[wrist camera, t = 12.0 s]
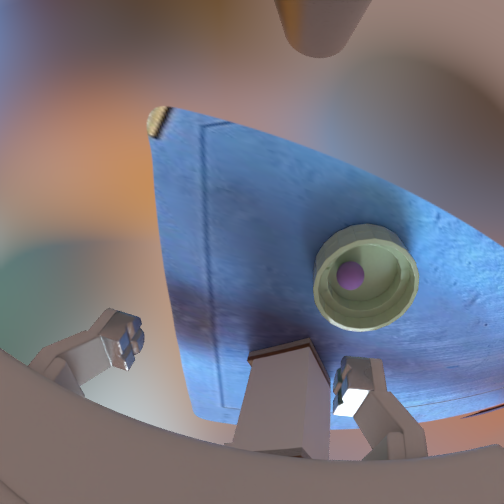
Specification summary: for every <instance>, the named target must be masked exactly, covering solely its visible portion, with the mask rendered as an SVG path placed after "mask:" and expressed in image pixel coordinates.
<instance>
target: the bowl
mask: <svg viewBox="0 0 504 504" xmlns="http://www.w3.org/2000/svg"><path fill="white" fill-rule="evenodd" d="M348 261H353V262H356V263H358V264H359V265H360V266H361V267H362V268H363V270H364V281H363V283H362V284H361V285H360V286H359V287H358V288H356V289H354V290H347V289H344V288H342V287H341V286H340V285H339V283H338V281H337V277H336V274H337V270H338V268H339V267H340V266H341V265H342V264H343V263H345V262H348ZM418 284H419V273H418V269H417V266H416V262H415V260H414V259H413V257H412V255H411V254H410V252H409V250H408V249H407V247H406V246H405V244H404V243H403V242H402V240H401V239H400V238H399V237H398V235H397V234H395V233H394V232H392V231H390V230H389V229H387V228H385V227H383V226H378V225H373V224H360V225H352V226H349V227H347V228H345V229H343V230H340V231H338V232H336V233H335V234H334V235H333V236H332V237H330V238H329V239H328V240H327V241H326V242H325V243H324V244H323V246H322V247H321V249H320V251H319V252H318V254H317V256H316V259H315V264H314V268H313V293H314V300H315V304H316V306H317V308H318V309H319V311H320V313H321V315H322V316H323V317H324V318H325V319H327V320H328V321H329V322H330V323H331V324H333V325H335V326H337V327H340V328H342V329H344V330H350V331H357V332H363V331H371V330H377V329H379V328H382V327H384V326H387V325H389V324H391V323H392V322H394V321H395V320H397V319H398V318H399V317H401V316H402V315H403V314H404V313H405V312H406V311H407V309H408V308H409V307H410V306H411V304H412V303H413V300H414V298H415V296H416V294H417V291H418Z"/></svg>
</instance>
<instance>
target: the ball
mask: <svg viewBox="0 0 504 504" xmlns="http://www.w3.org/2000/svg"><path fill="white" fill-rule="evenodd" d="M336 277H337V281H338V283H339V285H340V286H341V287H342V288H344V289H347V290H354V289H356V288H358V287H359V286H360V285H361V284H362V283H363V281H364V270H363V268H362V267H361V266H360V265H359V264H358V263H356V262H353V261H348V262H345V263H343V264H342V265H341V266H340V267H339V268H338V270H337V274H336Z"/></svg>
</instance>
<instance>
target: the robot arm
mask: <svg viewBox="0 0 504 504" xmlns="http://www.w3.org/2000/svg"><path fill="white" fill-rule="evenodd" d="M141 325H142V323H141V319H140V318H139V317H137V316H134V315H131V314H127V313H124V312H121V311H117V310H114V309H111V308H108V309H106V310H105V311H104V312H103V313H102V315H101V316H100V317H99V318H98V319H97V321H96V322H95V323H94V324H93V325H92V327H91V328H90V329H89V330H88V331H86V330H85V331H83V332H80V333H78V334H75V335H73V336H71V337H68V338H65V339H63V340H61V341H58V342H56V343H53V344H51V345H49V346H46V347H44V348H42V350H41V351H40V352H39V353H38V354H37V355H36V357H35V358H34V359H33V360H32V361H31V363H30V364H29V365H28V366H26V365H25V364H23V363H22V362H20V361H18V360H17V359H15V358H14V357H13V356H11V355H10V354H8V353H6V352H5V351H4V350H2V349H1V348H0V504H504V448H503V447H502V446H500V445H497V444H494V445H489V446H485V447H480V448H476V449H471V450H466V451H461V452H455V453H450V454H443V455H437V456H429V457H428V453H427V446H426V439H425V433H424V429H423V428H422V427H421V426H420V425H419V424H418V422H417V421H416V420H415V419H414V418H413V417H412V416H411V414H410V413H409V412H408V411H407V410H406V409H405V408H404V406H403V405H402V404H401V403H400V402H399V401H398V400H397V398H396V397H395V396H394V395H393V394H392V393H391V392H387V387H386V381H385V375H384V369H383V363H382V360H381V359H374V358H362V357H351V356H344V357H343V358H342V360H341V368H339V369H337V372H336V374H335V378H334V383H333V392H334V393H335V395H336V396H335V398H334V400H333V415H342V416H354V417H353V418H354V420H355V421H356V423H357V425H358V426H359V428H360V429H361V431H362V433H363V434H364V436H365V438H366V439H367V441H368V443H369V444H370V446H371V448H372V449H373V450H372V451H371V452H370V453H369V454H368V455H366V457H364V458H363V459H362V461H343V460H322V459H308V458H298V457H289V456H281V455H273V454H267V453H260V452H254V451H249V450H243V449H238V448H233V447H228V446H224V445H219V444H215V443H211V442H207V441H203V440H199V439H195V438H192V437H188V436H185V435H181V434H177V433H174V432H171V431H168V430H165V429H162V428H159V427H156V426H153V425H150V424H147V423H144V422H141V421H139V420H136V419H133V418H131V417H128V416H126V415H123V414H120V413H118V412H115V411H113V410H111V409H109V408H106V407H104V406H102V405H100V404H97V403H95V402H93V401H91V400H89V399H87V398H85V395H84V393H83V391H82V390H81V388H80V386H81V385H82V384H84V383H86V382H87V381H89V380H91V379H92V378H94V377H95V376H97V375H99V374H100V373H102V372H103V371H105V370H106V369H108V368H110V367H111V366H115V367H117V368H120V369H123V370H126V371H129V369H130V367H131V366H132V364H133V362H134V361H135V357H134V355H136V354H138V353H140V351H141V349H142V347H143V343H144V332H143V331H142V329H141V328H140V326H141Z"/></svg>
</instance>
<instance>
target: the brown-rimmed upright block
mask: <svg viewBox="0 0 504 504" xmlns="http://www.w3.org/2000/svg"><path fill="white" fill-rule="evenodd" d="M247 361H248V363H249V364H250V365H251V367H252V368H251V372H250V376H249V380H248V384H247V388H246V392H245V396H244V400H243V404H242V407H241V411H240V415H239V419H238V423H237V427H236V431H235V435H234V438H233V442H232V443H224V446H228V447H233V448H238V449H243V450H249V451H254V452H260V453H267V454H273V455H281V456H289V457H298V458H308V459H322V460H329V442H330V378H329V376H328V374H327V372H326V370H325V368H324V366H323V364H322V362H321V360H320V358H319V356H318V354H317V352H316V349H315V347H314V345H313V343H312V341H311V339H310V338H306V339H302V340H298V341H295V342H291V343H287V344H283V345H278V346H274V347H270V348H266V349H261V350H257V351H252V352H249V356H248V360H247Z"/></svg>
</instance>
